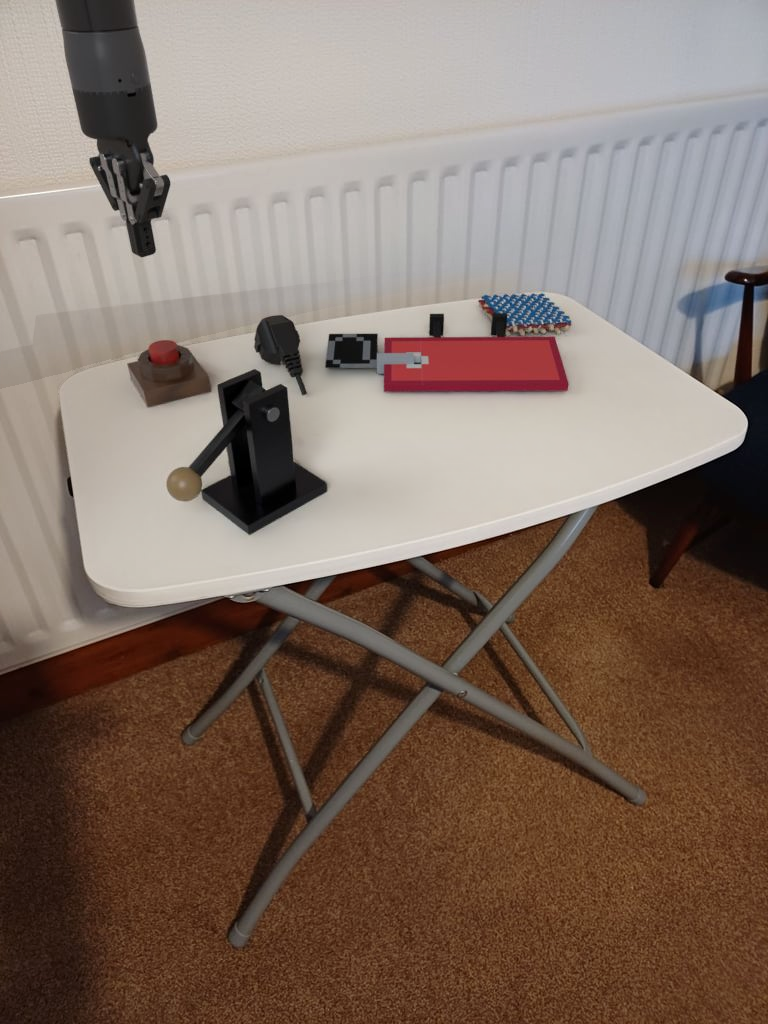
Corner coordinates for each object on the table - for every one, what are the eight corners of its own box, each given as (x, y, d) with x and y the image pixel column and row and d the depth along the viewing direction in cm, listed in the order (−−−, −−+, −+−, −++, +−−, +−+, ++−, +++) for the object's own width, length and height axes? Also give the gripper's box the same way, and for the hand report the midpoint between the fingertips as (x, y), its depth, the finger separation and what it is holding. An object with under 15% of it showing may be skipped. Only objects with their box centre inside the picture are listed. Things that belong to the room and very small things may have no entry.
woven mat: (474, 306, 114) (476, 292, 113) (539, 304, 117) (542, 291, 116) (502, 337, 106) (505, 323, 105) (572, 334, 109) (575, 320, 108)
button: (155, 368, 94) (152, 355, 93) (147, 356, 97) (145, 343, 96) (182, 361, 96) (180, 348, 94) (174, 350, 98) (172, 337, 97)
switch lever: (192, 513, 72) (172, 497, 70) (173, 498, 74) (153, 481, 72) (282, 407, 74) (265, 387, 72) (261, 395, 76) (244, 375, 74)
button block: (147, 407, 94) (140, 378, 92) (130, 378, 100) (123, 350, 97) (211, 391, 97) (206, 362, 95) (191, 364, 103) (186, 336, 100)
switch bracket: (249, 535, 76) (233, 422, 68) (202, 499, 80) (181, 389, 72) (327, 491, 81) (321, 382, 73) (279, 459, 86) (268, 353, 78)
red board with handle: (330, 332, 108) (323, 394, 97) (329, 314, 106) (321, 375, 95) (549, 331, 107) (567, 393, 96) (551, 312, 105) (570, 374, 94)
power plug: (283, 395, 94) (251, 310, 97) (275, 421, 101) (246, 341, 104) (327, 385, 96) (294, 302, 99) (316, 411, 103) (286, 333, 106)
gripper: (43, 76, 79) (85, 247, 90) (109, 96, 71) (146, 280, 82) (111, 66, 83) (143, 231, 94) (180, 84, 75) (206, 261, 86)
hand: (144, 253), depth 88 cm, fingers closed
